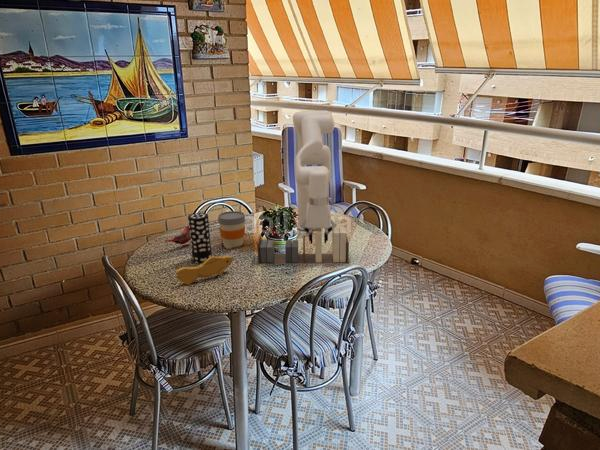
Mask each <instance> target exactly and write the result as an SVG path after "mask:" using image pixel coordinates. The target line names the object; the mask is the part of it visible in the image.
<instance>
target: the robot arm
mask: <svg viewBox="0 0 600 450" xmlns="http://www.w3.org/2000/svg"><path fill="white" fill-rule="evenodd" d="M292 123H293V124H292V125H293V127H294V129H295V132H296V134H297V154H296V155H295V158H294V163H293V164H294V166H293V167H294V178H295V182H296V187H297V212H298V213H297V217H298V218H297V221H298V222H297V225H298V227H297V228H296V229H297V230H300V231H304V232H306V233H307V234H308V242H310V244H313V231H315V228H321V229H324V233H323V242H324V243H323V244H327V241H329V234H330V233H331V232H332V229H334V228H335V227H337V223H335V221H334V220H333V219H332V218H331V216H332V215H331V214H332V213H331V205H330V203H329V202H332V197H329V192H328V191H329V184H330V182H331V179H332V178H331V177H332V176H331V174H332V170H331V169H332V167H331V166H332V154H331V149H330V147H329V145H326V144H324V143H323V134H324V135H325V134H326V135H328V134H332V133H333V132H334V130H335V120H334V117H333V115H332V113H331V112H330V111H328V110H300V111H296V112H295V113H293V115H292Z"/></svg>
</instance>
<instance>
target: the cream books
mask: <svg viewBox="0 0 600 450" xmlns="http://www.w3.org/2000/svg"><path fill="white" fill-rule="evenodd" d="M331 232H332V233H331V235H332V236H331V237H332V238H331V254H332V257H333V262H339V261H340V262H346V234H347V230H346V226H343V225H342V226H339V225H338V226H336V227H335V228H334V229H332V231H331Z"/></svg>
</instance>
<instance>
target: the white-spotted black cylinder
mask: <svg viewBox="0 0 600 450" xmlns="http://www.w3.org/2000/svg"><path fill="white" fill-rule="evenodd" d="M187 220H188V221H187V222H188V225H189V231H190V240H189V241H190V247H191V256H192V257H191V258H192V262H193V263H195V264H203V263H204V262H205V261H206V260H207V259H208V258H210V257H212V256H213V253H212V241H211V232H210V222H209V221H210V220H209V214H208V213H205V212H196V213H195V212H194V213H191V214H188V216H187Z"/></svg>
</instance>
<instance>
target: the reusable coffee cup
mask: <svg viewBox="0 0 600 450" xmlns="http://www.w3.org/2000/svg"><path fill="white" fill-rule="evenodd" d="M217 223H218V225H219V227H218V229H219V234H220V237H221V238H222V242H223V243H222V244H223V247H224V248H225V249H228V250H232V248H237V247H241V246H242V245H243V244H244V238H245V235H246V234H245V233H246V225H245V223H246V216H245V213H244V212H242V211H239V210H238V211H237V210H231V211H225V212H220V213H219V214H218V216H217Z"/></svg>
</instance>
